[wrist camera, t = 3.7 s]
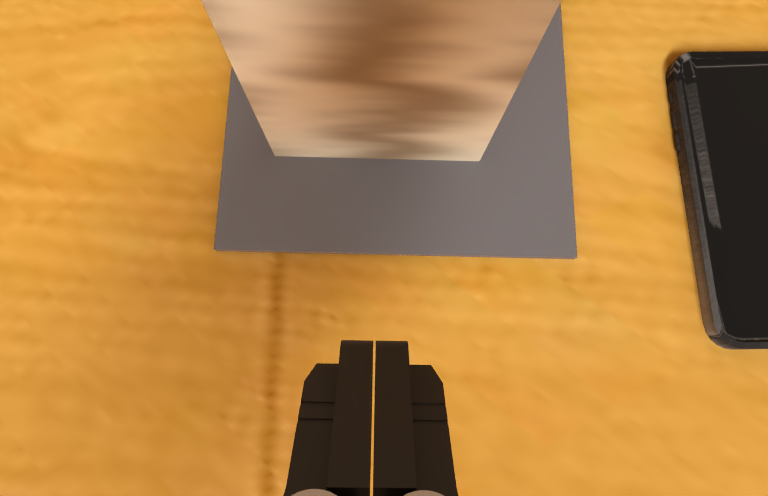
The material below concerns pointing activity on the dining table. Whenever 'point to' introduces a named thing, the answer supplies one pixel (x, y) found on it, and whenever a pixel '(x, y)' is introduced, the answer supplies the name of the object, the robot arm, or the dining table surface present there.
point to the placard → (380, 72)
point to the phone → (725, 187)
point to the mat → (411, 186)
